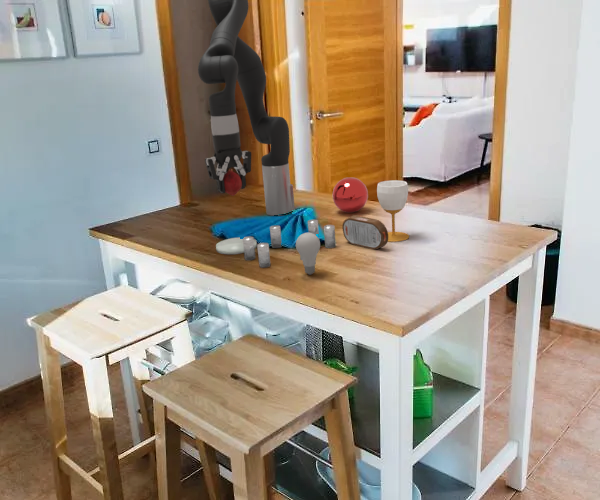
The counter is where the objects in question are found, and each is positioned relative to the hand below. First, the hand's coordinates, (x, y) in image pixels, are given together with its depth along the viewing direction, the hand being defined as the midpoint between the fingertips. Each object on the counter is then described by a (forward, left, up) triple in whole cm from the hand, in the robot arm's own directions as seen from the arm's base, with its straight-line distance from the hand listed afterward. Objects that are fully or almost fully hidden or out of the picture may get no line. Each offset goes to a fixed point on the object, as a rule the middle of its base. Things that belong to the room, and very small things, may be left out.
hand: (232, 190), depth 172 cm
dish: (0, 0, -17) cm, 17 cm away
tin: (-26, +26, -18) cm, 41 cm away
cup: (-37, +26, -18) cm, 49 cm away
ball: (-46, -5, -18) cm, 50 cm away
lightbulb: (-3, +33, -18) cm, 38 cm away
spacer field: (-8, +15, -17) cm, 25 cm away
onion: (0, 0, -2) cm, 2 cm away
